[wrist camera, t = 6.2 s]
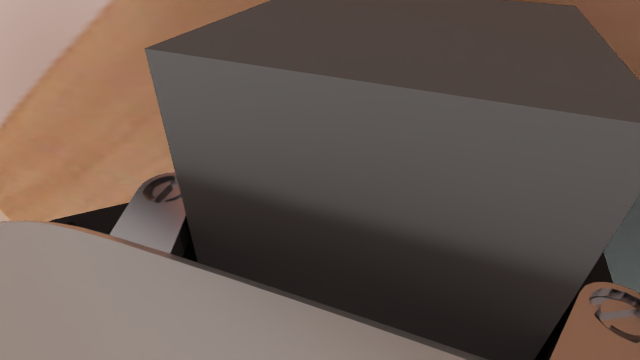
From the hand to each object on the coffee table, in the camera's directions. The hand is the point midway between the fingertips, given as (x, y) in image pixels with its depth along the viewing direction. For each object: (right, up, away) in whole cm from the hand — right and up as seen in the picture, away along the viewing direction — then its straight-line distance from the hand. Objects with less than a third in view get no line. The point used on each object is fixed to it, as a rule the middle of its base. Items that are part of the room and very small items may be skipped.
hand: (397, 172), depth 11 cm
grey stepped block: (0, -1, +2) cm, 2 cm away
